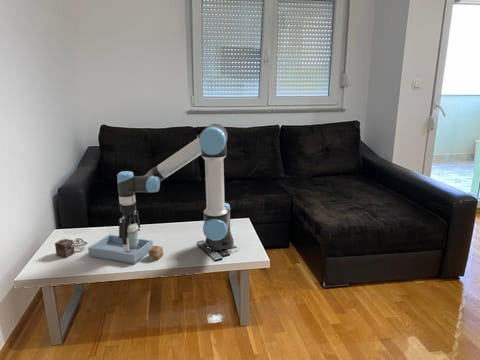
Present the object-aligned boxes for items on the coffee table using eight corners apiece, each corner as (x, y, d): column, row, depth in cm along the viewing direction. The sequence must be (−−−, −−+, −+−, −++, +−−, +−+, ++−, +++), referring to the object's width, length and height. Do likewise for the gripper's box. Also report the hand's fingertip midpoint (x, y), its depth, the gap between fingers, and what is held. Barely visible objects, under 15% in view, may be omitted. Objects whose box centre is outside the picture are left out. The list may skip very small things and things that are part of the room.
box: (65, 258, 187) (63, 244, 185) (56, 256, 189) (54, 243, 187) (74, 253, 192) (73, 240, 190) (65, 251, 194) (63, 238, 192)
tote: (153, 249, 196) (152, 240, 195) (134, 264, 181) (134, 254, 179) (110, 242, 204) (109, 234, 202) (89, 257, 188) (88, 247, 187)
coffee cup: (143, 244, 193) (141, 222, 189) (135, 251, 185) (133, 229, 181) (127, 243, 194) (125, 221, 191) (119, 250, 186) (117, 227, 183)
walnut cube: (163, 255, 189) (162, 246, 188) (158, 260, 185) (157, 251, 183) (154, 254, 191) (153, 245, 189) (149, 259, 186) (148, 249, 185)
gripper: (132, 196, 194) (136, 237, 200) (107, 209, 175) (112, 254, 181) (145, 197, 191) (148, 239, 198) (121, 211, 173) (126, 256, 179)
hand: (131, 246), depth 189 cm, fingers closed on coffee cup, 8 cm apart
